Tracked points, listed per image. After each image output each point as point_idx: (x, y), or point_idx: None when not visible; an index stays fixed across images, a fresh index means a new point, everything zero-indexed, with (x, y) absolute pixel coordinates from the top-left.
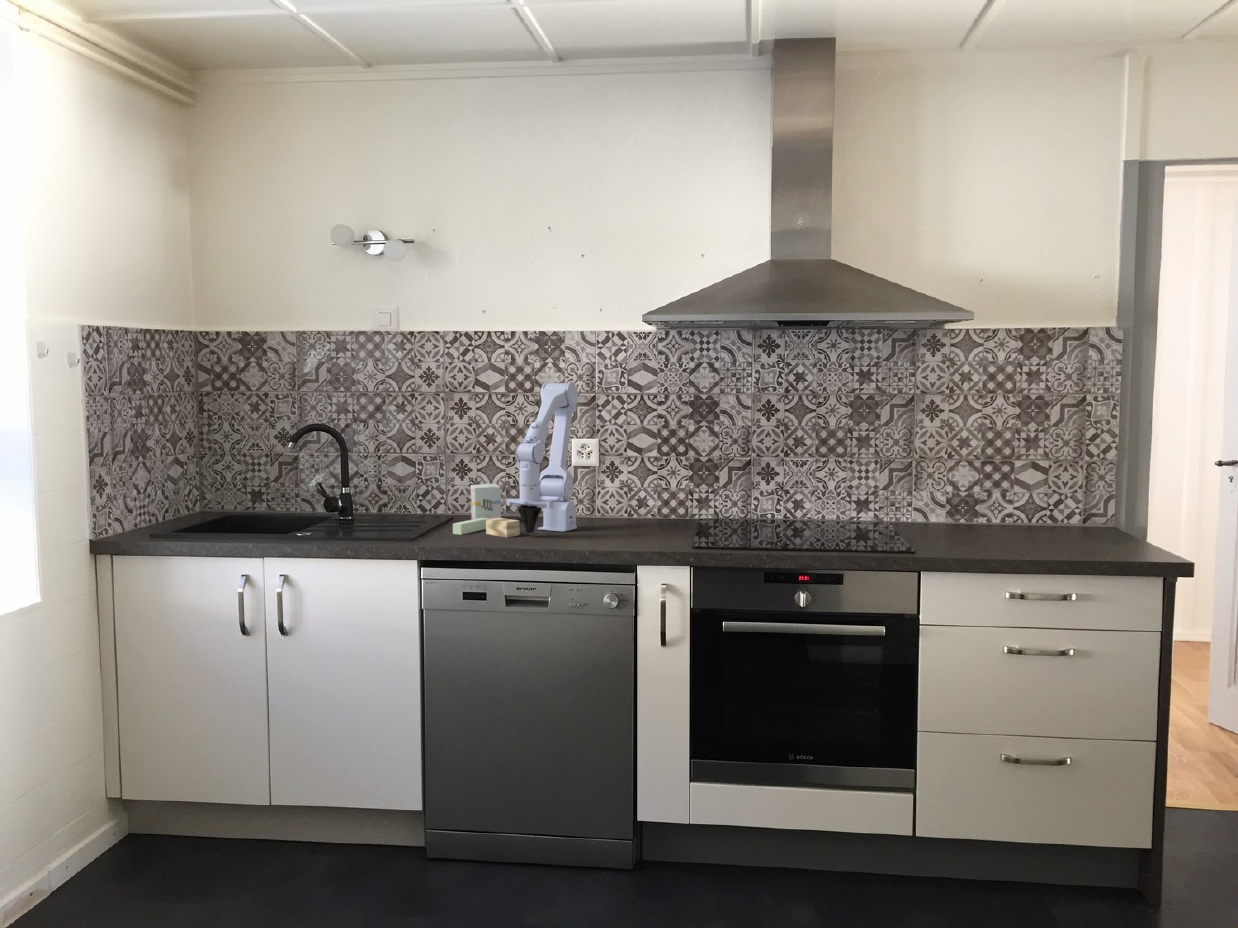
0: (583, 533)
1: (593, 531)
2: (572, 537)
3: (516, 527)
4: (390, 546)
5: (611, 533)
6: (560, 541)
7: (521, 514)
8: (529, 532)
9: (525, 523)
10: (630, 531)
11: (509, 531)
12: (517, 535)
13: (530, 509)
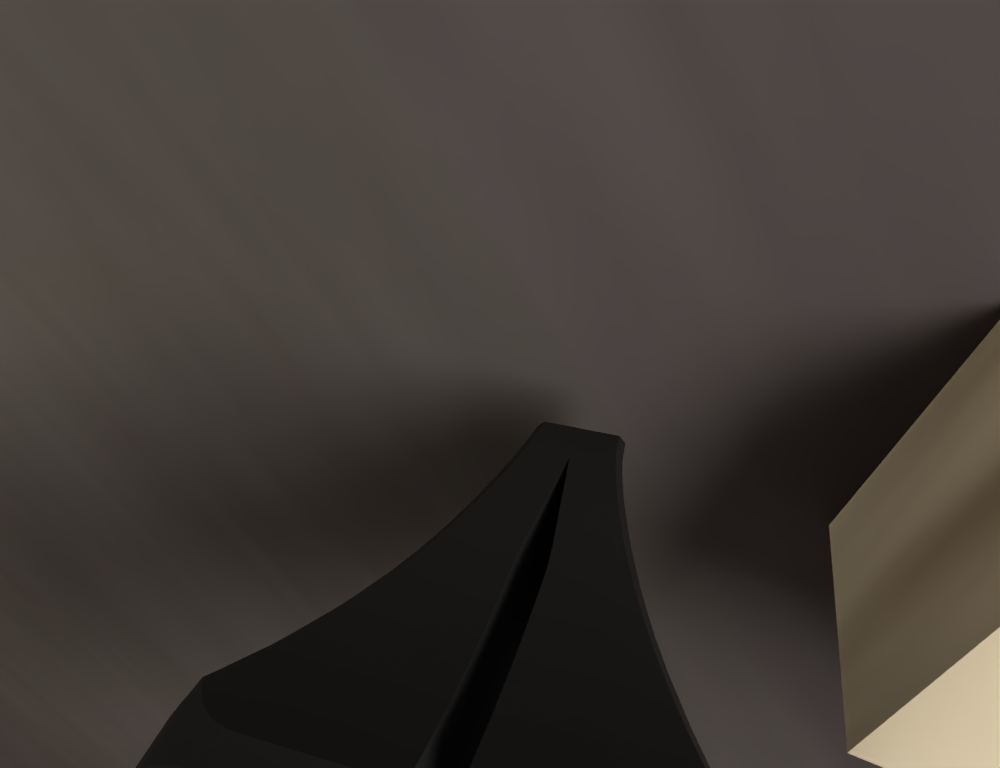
0: None
1: None
2: (137, 498)
3: (882, 591)
4: None
5: (72, 695)
6: (6, 211)
7: (637, 717)
8: (550, 424)
9: (584, 534)
10: (54, 757)
11: (993, 423)
12: (855, 495)
13: (182, 755)
